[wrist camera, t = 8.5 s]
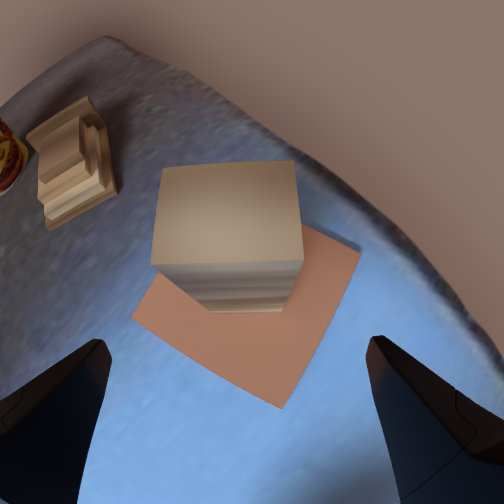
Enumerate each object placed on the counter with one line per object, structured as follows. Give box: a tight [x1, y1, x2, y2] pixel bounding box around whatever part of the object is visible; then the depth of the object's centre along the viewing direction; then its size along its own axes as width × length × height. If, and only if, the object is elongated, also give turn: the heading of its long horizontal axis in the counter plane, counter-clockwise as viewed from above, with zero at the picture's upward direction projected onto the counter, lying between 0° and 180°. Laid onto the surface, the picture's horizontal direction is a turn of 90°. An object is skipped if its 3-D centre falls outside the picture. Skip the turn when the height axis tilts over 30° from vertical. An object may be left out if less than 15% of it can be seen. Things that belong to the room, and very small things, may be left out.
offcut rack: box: [26, 95, 117, 232], centre depth 22 cm, size 10×8×5 cm
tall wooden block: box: [151, 160, 304, 314], centre depth 14 cm, size 4×4×11 cm
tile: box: [132, 223, 361, 409], centre depth 19 cm, size 12×12×1 cm
